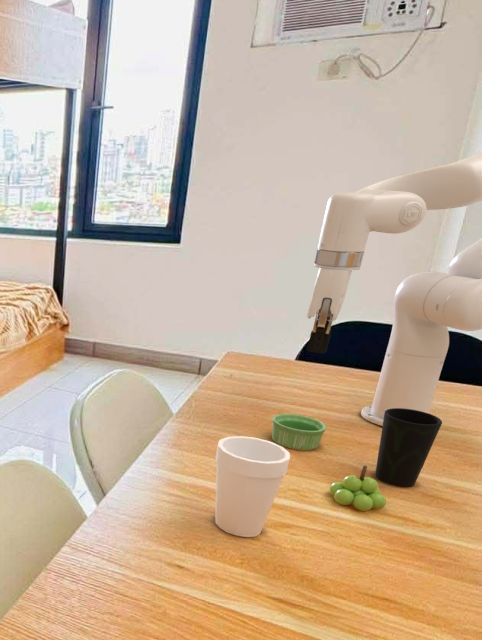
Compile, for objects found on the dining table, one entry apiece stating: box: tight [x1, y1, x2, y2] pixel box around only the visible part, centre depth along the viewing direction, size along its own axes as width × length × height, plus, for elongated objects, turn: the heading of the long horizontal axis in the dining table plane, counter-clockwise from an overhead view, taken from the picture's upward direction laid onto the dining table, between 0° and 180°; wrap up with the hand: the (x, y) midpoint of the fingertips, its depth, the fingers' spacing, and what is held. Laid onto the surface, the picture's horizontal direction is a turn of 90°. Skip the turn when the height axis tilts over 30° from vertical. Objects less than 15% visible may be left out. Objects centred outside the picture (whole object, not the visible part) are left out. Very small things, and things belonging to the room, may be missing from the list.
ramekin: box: [271, 413, 327, 451], centre depth 124 cm, size 9×9×4 cm
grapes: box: [329, 464, 387, 512], centre depth 102 cm, size 8×7×7 cm
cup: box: [374, 408, 443, 488], centre depth 108 cm, size 8×8×12 cm
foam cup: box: [214, 435, 291, 538], centre depth 94 cm, size 10×9×13 cm
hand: (316, 351), depth 126 cm, fingers closed
